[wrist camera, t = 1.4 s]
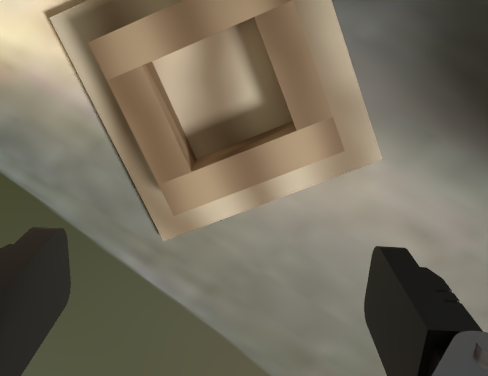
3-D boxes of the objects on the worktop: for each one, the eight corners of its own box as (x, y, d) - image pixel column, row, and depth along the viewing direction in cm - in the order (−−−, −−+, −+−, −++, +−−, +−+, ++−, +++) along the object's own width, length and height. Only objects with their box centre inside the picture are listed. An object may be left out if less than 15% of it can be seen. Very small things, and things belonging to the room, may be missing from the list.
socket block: (298, -95, 30) (305, -113, 26) (379, 156, 35) (395, 172, 32) (53, 17, 32) (28, 17, 28) (165, 236, 38) (155, 260, 34)
